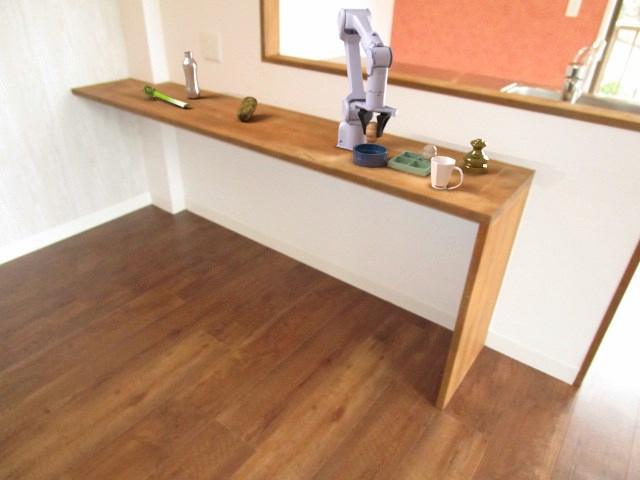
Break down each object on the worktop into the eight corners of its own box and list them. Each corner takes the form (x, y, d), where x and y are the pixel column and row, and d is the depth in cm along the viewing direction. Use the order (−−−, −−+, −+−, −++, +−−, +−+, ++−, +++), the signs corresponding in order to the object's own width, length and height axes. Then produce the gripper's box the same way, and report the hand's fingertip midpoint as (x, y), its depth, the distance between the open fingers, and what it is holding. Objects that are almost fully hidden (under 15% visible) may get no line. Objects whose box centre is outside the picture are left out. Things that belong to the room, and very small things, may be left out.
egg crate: (387, 167, 144) (387, 160, 142) (405, 156, 153) (406, 150, 152) (424, 177, 137) (425, 170, 136) (441, 165, 146) (442, 158, 145)
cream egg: (418, 165, 145) (421, 144, 142) (424, 161, 148) (427, 141, 145) (431, 168, 143) (434, 147, 140) (436, 164, 146) (439, 144, 143)
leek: (180, 114, 195) (139, 96, 210) (193, 113, 200) (152, 96, 215) (181, 100, 192) (139, 83, 207) (194, 99, 198) (152, 83, 212)
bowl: (345, 163, 146) (346, 149, 144) (363, 154, 154) (364, 140, 151) (375, 171, 140) (377, 157, 138) (392, 161, 148) (394, 148, 146)
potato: (228, 120, 183) (227, 100, 179) (248, 113, 193) (247, 94, 189) (245, 123, 180) (244, 103, 176) (264, 116, 190) (263, 96, 186)
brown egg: (362, 142, 143) (364, 121, 140) (369, 139, 146) (371, 118, 143) (374, 145, 141) (376, 124, 138) (381, 142, 144) (383, 121, 141)
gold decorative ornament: (489, 170, 144) (496, 139, 139) (478, 177, 139) (485, 145, 134) (467, 164, 148) (473, 134, 143) (456, 170, 143) (462, 139, 138)
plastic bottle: (203, 97, 214) (199, 51, 204) (193, 100, 209) (188, 53, 199) (194, 95, 217) (188, 50, 207) (183, 98, 212) (177, 52, 202)
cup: (433, 180, 136) (437, 154, 132) (465, 189, 130) (470, 162, 126) (421, 187, 131) (425, 160, 127) (454, 197, 126) (459, 169, 122)
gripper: (348, 89, 136) (345, 134, 143) (391, 96, 129) (387, 143, 136) (360, 85, 141) (357, 128, 148) (403, 92, 134) (397, 137, 141)
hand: (372, 135), depth 143 cm, fingers closed on brown egg, 4 cm apart
